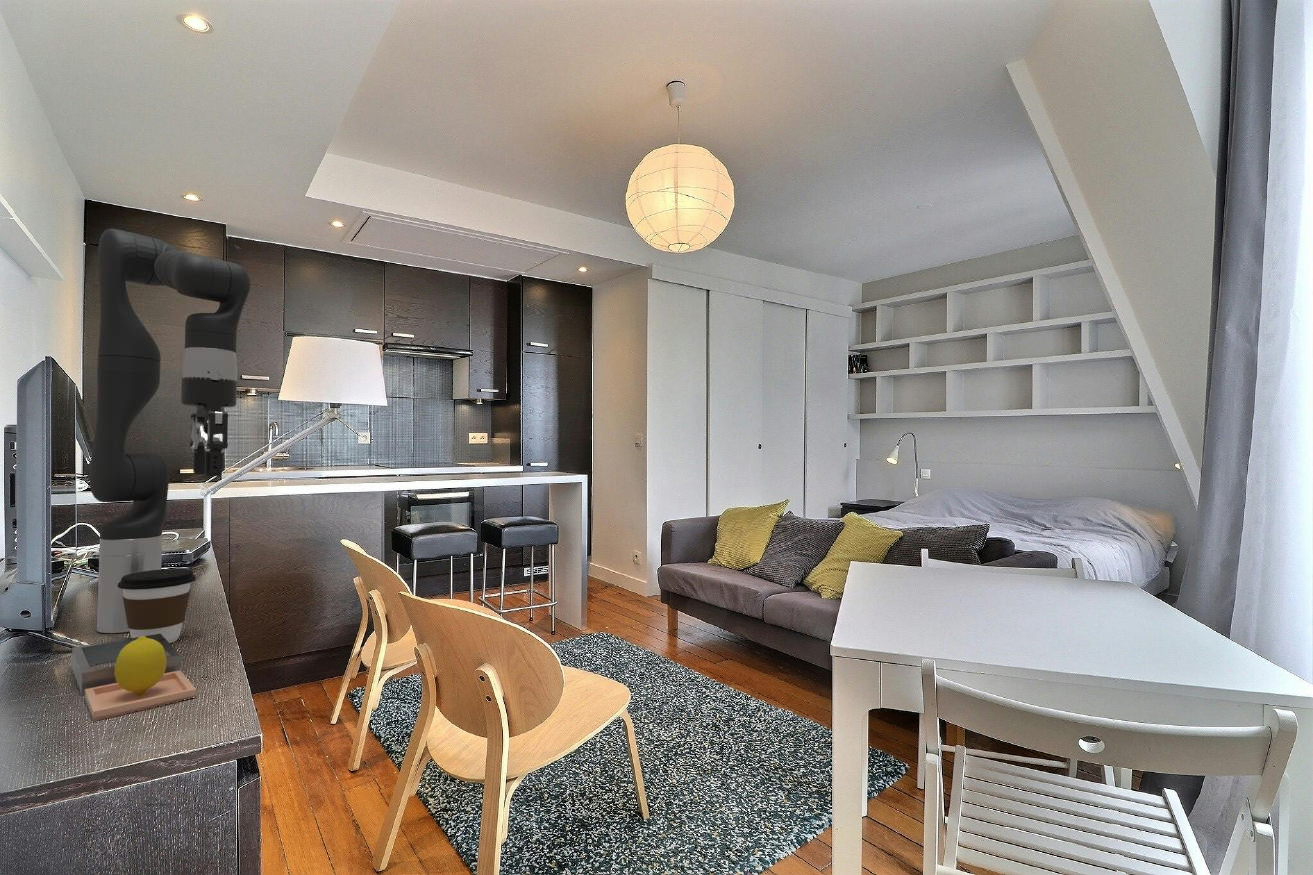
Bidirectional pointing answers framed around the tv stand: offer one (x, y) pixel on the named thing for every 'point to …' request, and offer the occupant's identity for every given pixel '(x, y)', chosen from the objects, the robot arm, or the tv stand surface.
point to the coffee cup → (156, 601)
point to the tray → (137, 696)
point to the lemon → (140, 665)
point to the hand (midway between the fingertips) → (207, 474)
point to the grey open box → (109, 653)
